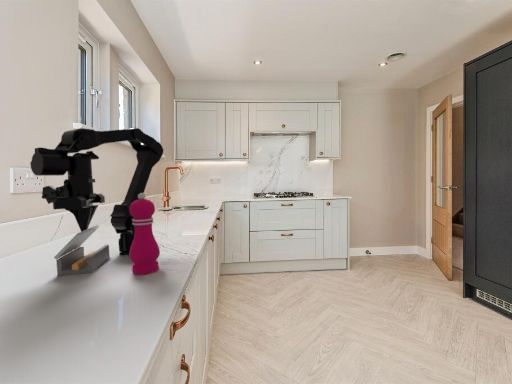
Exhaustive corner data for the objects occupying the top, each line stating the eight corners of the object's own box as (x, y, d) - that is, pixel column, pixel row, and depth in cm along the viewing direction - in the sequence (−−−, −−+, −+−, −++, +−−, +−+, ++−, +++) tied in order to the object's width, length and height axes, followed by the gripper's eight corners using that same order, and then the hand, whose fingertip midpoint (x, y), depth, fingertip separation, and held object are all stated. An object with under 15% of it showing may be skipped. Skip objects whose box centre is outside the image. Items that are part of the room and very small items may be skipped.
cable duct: (109, 257, 84) (108, 244, 84) (92, 272, 71) (91, 256, 70) (80, 259, 83) (79, 246, 83) (57, 275, 69) (56, 259, 69)
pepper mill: (166, 267, 73) (162, 191, 72) (147, 276, 66) (142, 193, 65) (144, 265, 75) (140, 192, 74) (123, 274, 68) (118, 194, 67)
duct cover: (99, 226, 83) (96, 224, 83) (79, 235, 70) (76, 232, 70) (79, 246, 82) (77, 244, 82) (56, 259, 69) (52, 257, 69)
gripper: (63, 177, 83) (67, 228, 84) (25, 175, 65) (30, 241, 65) (103, 175, 85) (106, 225, 86) (78, 174, 67) (82, 237, 68)
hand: (84, 231), depth 76 cm, fingers closed, pressing on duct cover
